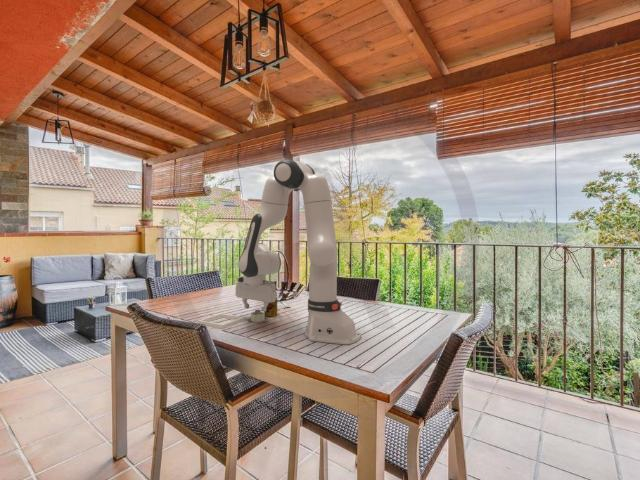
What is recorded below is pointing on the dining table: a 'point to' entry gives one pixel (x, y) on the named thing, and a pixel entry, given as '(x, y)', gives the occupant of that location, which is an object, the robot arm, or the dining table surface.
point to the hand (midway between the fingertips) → (255, 309)
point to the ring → (257, 317)
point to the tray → (221, 326)
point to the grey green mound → (257, 312)
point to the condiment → (271, 309)
